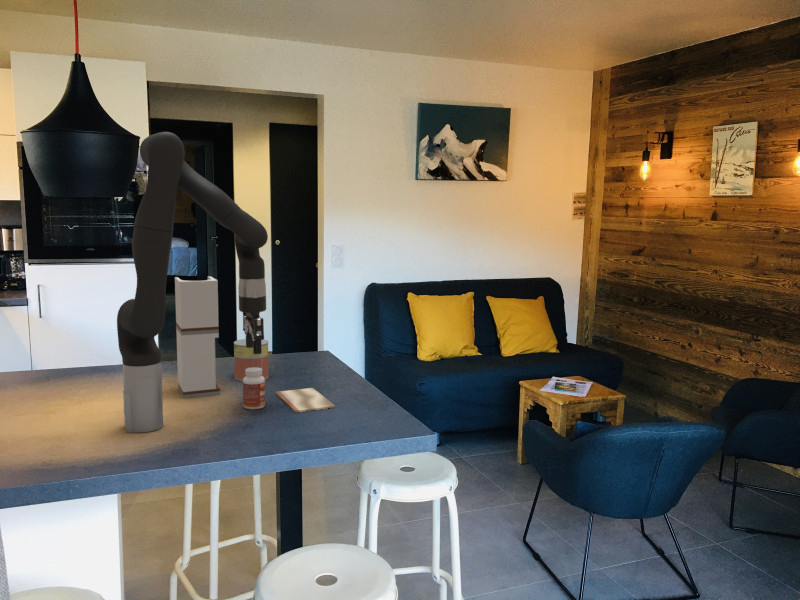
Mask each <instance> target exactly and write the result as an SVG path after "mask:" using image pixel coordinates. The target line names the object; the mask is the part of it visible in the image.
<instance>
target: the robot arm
mask: <svg viewBox="0 0 800 600" xmlns="http://www.w3.org/2000/svg"><path fill="white" fill-rule="evenodd" d="M185 153H186V151H185V145H184V143H183V141H182V140H181V138H180V137H179V136H178V135H176V133H173V132H169V131H161V132H157V133H156V132H155V133H154V134H151V135H148V136H147V137H145V138H144V139H143V140H142V141H141V143H140V146H139V155H140V158H141V160H142V162H143V163H144V164H145V166H147V168H148V169H147V180H146V186H145V190H144V193H143V196H142V199H141V201H140V203H139V206H138V209H137V213H136V215H135V218H134V223H133V224H134V225H133V230H132V231H133V232H132V240H131V250H132V251H131V252H132V258H133V263H134V267H135V273H136V289H135V295H134V298H131V299H128V300H126V301H125V302H123V304H122V305H120V306H119V309H118V311H117V316H116V317H117V318H116V330H117V342H118V350H119V352H120V356H121V358H122V361H121V363H122V379H123V383H122V384H123V391H122V392H123V394H122V395H123V419H124V421H123V422H124V428H125V429H124V430H125V433H148V432H149V433H150V432H154V431H157V430H160V429H161V428H162V427H164V404H163V403H164V401H163V400H164V399H163V398H164V397H163V396H164V395H163V373H162V372H163V370H162V368H163V367H162V366H163V365H162V351H161V350H160V348H159V347H158V345H157V342H156V341H155V337H157V335H159V334H160V333H161V331H162V329H163V327H164V324H165V321H166V300H167V299H166V295H167V293H166V292H167V291H166V290H167V280H168V272H169V266H170V258H171V257H170V256H171V249H172V243H173V234H174V225H175V223H174V222H175V215H176V214H175V213H176V207H177V205H176V204H177V192H178V188H179V189H180V190H181V191H182V192H184V193H185V194H186V195H187V196H188V197H190V198H191V199H192V200H193V201H194V202H195V203H196V204H197V205H198V206H200V207H201V208H202V210H204V211H205V212H206V213H207V214H209V216H210V217H212V218H213V219H214V220H215V221H216V222H217V223H218V224H219V225H221V226H222V227H224V228H226V229H228V230H229V231H231V232H232V233H233V234H234V246H235V250H236V256H237V259H238V276H239V277H238V311H239V312H241V313H242V330H243V332H244V335H245V339H246V347H247V348H252V347H253V353H254V354H261V353H262V349H261V341H262V340H265V330H264V318H263V317H261V316H260V313H262V312H265V311H266V310H267V286H266V275H265V274H266V271H265V270H266V269H265V267H266V266H265V260H264V259H263V258H262V257H261V255H260V249H261V248H263V247H264V246H265V245H266V244H267V242H268V239H269V236H268V232H267V230H266V227H265V226H264V225H263V224H262V223H261V222H260V221H258V220H257V219H256V218H254V217H253V216H251V214H249V213H248V212H246V210H245V211H244V210H243V209H242V208H241V207H240V206H239V205H238V204H237V203H236V202H235V201H234V199H232V197H230V196H229V195H228V194H227V193H226V192H225V191H223V190H222V189H221V188H219V186H217V185H216V184H214V183H212V182H211V181H209V180H208V179H206V178H205V177H203V176H202V175H200V174H199V173H198V172H197V171H195V170H194V169H193V168H192V167H191V166H190V165H189V164H188V163H187V162H186V161H185V156H186V154H185Z"/></svg>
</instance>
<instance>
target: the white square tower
mask: <svg viewBox="0 0 800 600" xmlns="http://www.w3.org/2000/svg"><path fill="white" fill-rule="evenodd" d="M218 284H219V282H218V279H216V278H214V277H213V276H210V275H209V276H207V279H206V280H183V279H181V278H179V277H178V276H175V277H174V285H175V286H174V294H175V295H174V296H175V324H176V325H175V326H176V327H175V329H176V331H175V332H176V355H177V357H176V358H177V359H176V362H177V364H176V365H177V390H178V391H179V393H180V395H181V397H182V399H184V400H185V398H187V399H195V398H194V397H196V398H205V397H212V396H220V395H221V387H219V385H218V384H217V383H216V382H217V381H216V380H217V379H216V378H217V377H216V375H217V373H216V339H217V338H218V339H219V338H220V336H219V335H220V333H219V332H220V331H219V330H220V329H219V326H220V325H219V292H218V291H219V289H218V287H219V285H218ZM204 396H205V397H204Z"/></svg>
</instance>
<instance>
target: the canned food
mask: <svg viewBox="0 0 800 600" xmlns="http://www.w3.org/2000/svg"><path fill="white" fill-rule="evenodd" d="M261 349H262V353H261V354H254V353H253V347H252V348H247V347H246V338H242V339H237V340H235V341H233V352H234V353H233V355H234V357H233V359H234V361H233V362H234V377H233V378H234V379H235V380H236V379H237V380H236V381H239V380H240V382H243V379H244V377H246V374H245V370H246V369H247V368H253V367H256V368H261V369H262V374H261V376H263V377H264V379H265V380H267V379H268V378H269V376H270V375H269V341H268V340H267V339H264V340H262V341H261Z"/></svg>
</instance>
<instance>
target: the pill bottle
mask: <svg viewBox="0 0 800 600" xmlns="http://www.w3.org/2000/svg"><path fill="white" fill-rule="evenodd" d="M245 374H246V377H244V379H243V381H242V406H243V407H244V409H247V410H259V409H263V408H264V407H265V406H266V379H264V377H263V376H261V374H262V369H261V368H256V367H253V368H247V369H246V370H245Z"/></svg>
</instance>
